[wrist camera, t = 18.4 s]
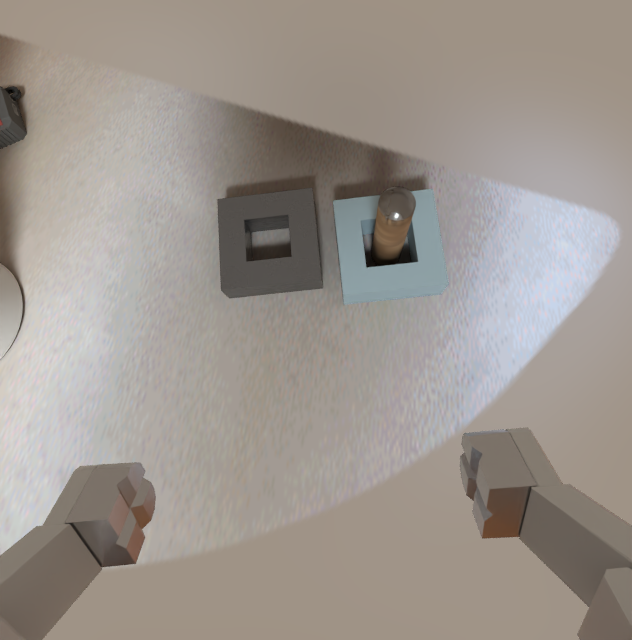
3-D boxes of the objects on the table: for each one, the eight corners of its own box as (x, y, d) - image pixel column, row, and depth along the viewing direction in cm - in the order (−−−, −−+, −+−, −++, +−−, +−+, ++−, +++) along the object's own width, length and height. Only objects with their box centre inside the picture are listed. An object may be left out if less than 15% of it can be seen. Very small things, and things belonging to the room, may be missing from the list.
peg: (373, 269, 45) (380, 222, 34) (369, 242, 45) (376, 188, 35) (401, 266, 44) (418, 218, 34) (398, 239, 45) (413, 184, 34)
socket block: (229, 298, 45) (221, 290, 42) (225, 212, 47) (217, 199, 44) (322, 288, 45) (320, 279, 42) (314, 202, 47) (312, 187, 44)
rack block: (343, 304, 44) (343, 295, 41) (334, 216, 46) (333, 200, 43) (440, 294, 43) (448, 283, 40) (426, 205, 46) (432, 188, 42)
